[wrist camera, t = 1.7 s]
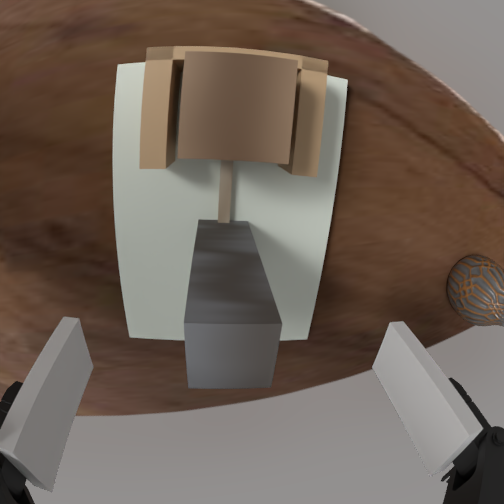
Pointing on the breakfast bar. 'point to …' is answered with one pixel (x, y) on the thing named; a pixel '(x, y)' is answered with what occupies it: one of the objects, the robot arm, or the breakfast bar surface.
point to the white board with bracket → (207, 193)
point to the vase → (477, 290)
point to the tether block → (225, 230)
